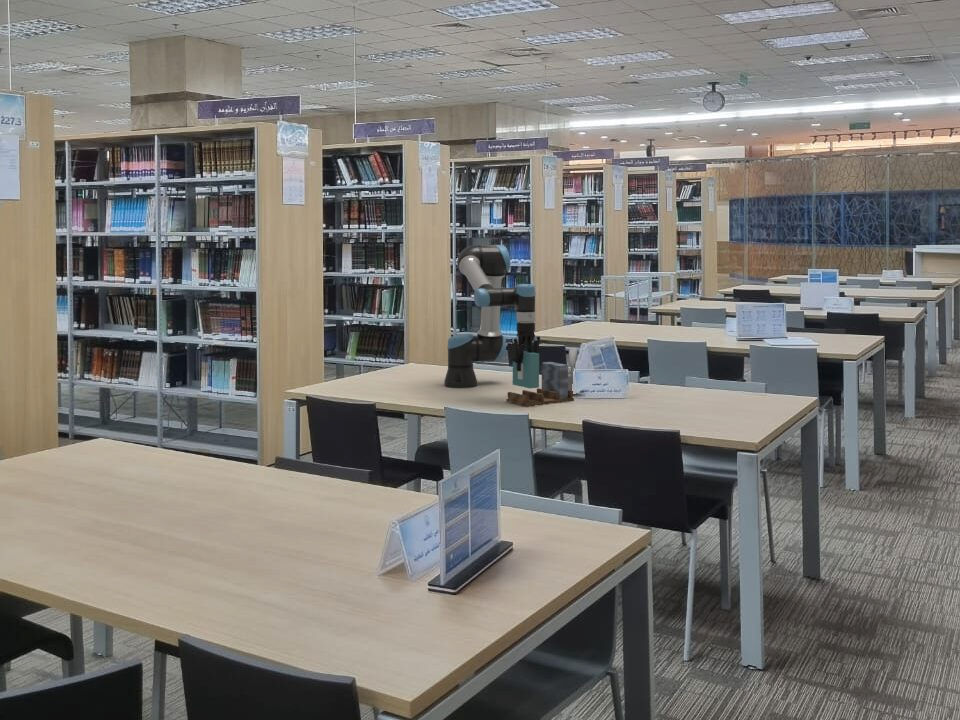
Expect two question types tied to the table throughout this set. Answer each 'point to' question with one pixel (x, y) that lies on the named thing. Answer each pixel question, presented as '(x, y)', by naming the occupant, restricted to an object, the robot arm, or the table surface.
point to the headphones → (572, 365)
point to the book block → (528, 371)
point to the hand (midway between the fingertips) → (525, 378)
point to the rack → (546, 388)
